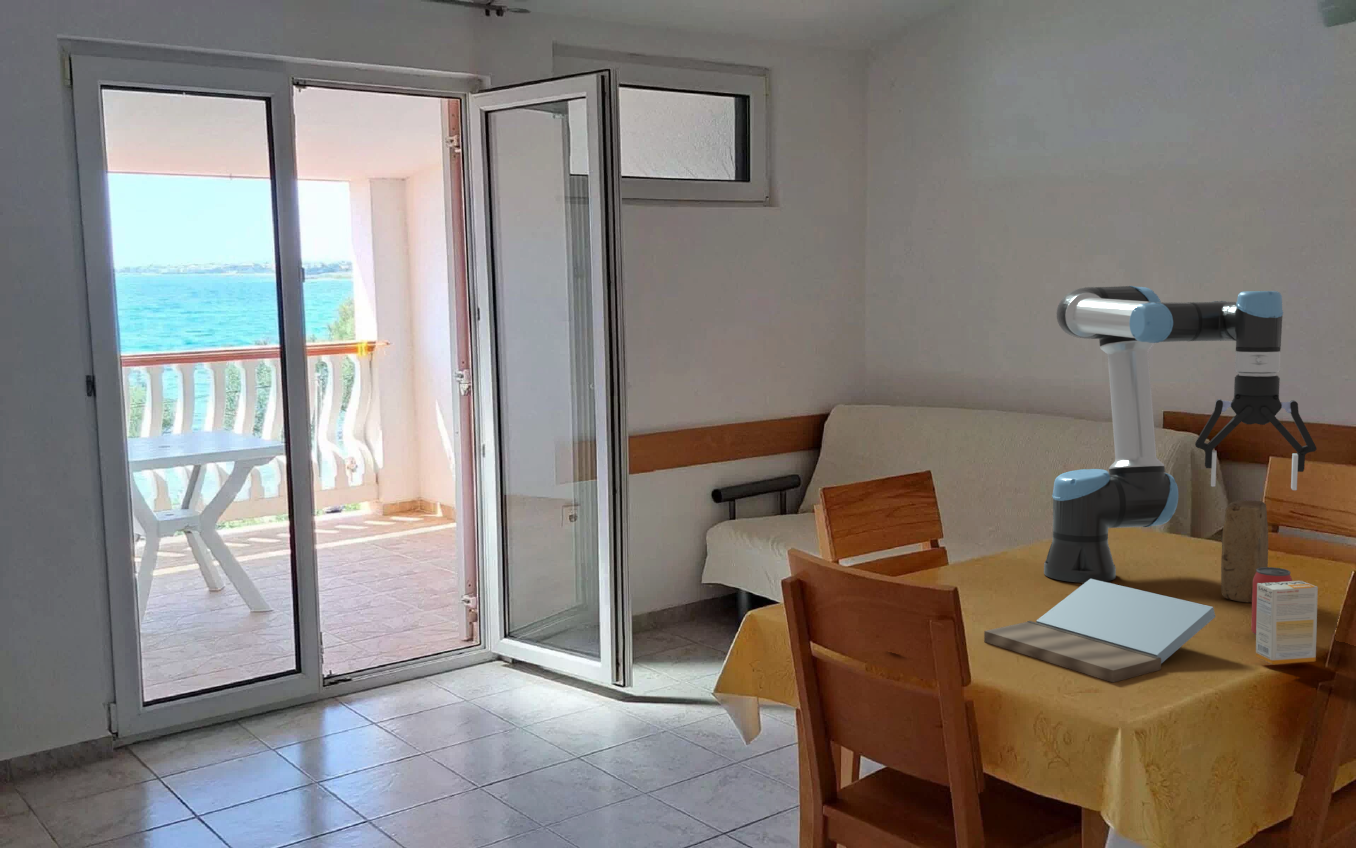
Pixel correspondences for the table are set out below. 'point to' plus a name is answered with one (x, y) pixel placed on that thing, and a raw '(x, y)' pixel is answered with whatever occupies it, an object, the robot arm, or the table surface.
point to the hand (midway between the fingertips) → (1252, 487)
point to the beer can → (1266, 577)
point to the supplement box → (1286, 622)
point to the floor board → (1073, 651)
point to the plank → (1129, 617)
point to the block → (1243, 548)
